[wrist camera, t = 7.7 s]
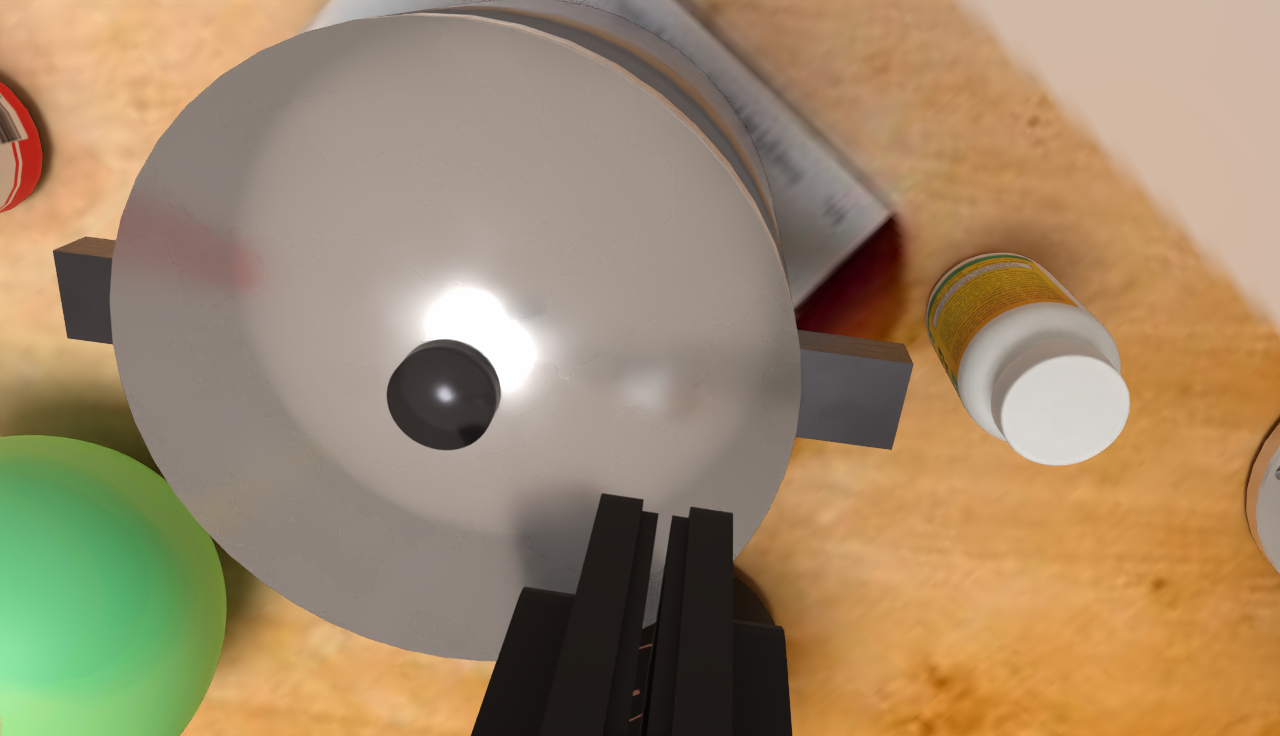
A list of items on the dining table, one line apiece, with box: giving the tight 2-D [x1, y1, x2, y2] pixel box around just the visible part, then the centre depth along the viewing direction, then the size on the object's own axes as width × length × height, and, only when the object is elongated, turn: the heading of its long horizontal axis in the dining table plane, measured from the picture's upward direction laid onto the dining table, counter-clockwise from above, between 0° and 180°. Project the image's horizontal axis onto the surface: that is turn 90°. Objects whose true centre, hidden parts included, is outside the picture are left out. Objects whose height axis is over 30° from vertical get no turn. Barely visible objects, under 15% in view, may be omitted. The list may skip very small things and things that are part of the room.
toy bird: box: [0, 435, 227, 736], centre depth 40 cm, size 18×17×15 cm
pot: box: [53, 0, 913, 450], centre depth 33 cm, size 27×20×12 cm
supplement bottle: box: [926, 253, 1130, 465], centre depth 33 cm, size 5×5×10 cm
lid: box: [110, 13, 801, 661], centre depth 26 cm, size 20×20×2 cm
